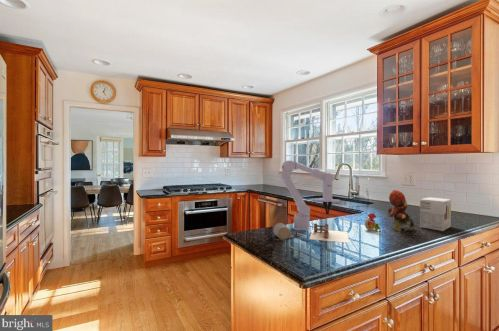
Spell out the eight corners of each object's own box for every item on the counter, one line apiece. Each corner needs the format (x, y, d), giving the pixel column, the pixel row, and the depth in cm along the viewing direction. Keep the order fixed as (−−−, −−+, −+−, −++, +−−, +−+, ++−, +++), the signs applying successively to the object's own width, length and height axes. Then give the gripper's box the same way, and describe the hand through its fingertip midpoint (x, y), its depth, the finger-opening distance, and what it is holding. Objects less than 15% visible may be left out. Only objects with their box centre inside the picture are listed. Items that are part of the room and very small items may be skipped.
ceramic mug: (278, 240, 142) (278, 226, 142) (273, 236, 150) (273, 223, 150) (296, 239, 145) (297, 225, 145) (290, 235, 153) (291, 222, 153)
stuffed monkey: (409, 231, 154) (398, 189, 159) (384, 232, 169) (375, 193, 174) (425, 227, 161) (414, 186, 165) (399, 228, 176) (390, 190, 180)
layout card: (309, 240, 143) (309, 238, 143) (312, 230, 164) (312, 229, 164) (349, 243, 137) (349, 242, 137) (347, 232, 158) (347, 231, 158)
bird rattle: (373, 235, 159) (383, 228, 163) (367, 219, 158) (378, 212, 161) (365, 233, 165) (375, 226, 168) (359, 217, 163) (369, 210, 167)
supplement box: (444, 231, 161) (444, 201, 161) (419, 227, 171) (419, 199, 171) (451, 226, 173) (451, 198, 172) (427, 223, 183) (427, 196, 182)
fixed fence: (313, 232, 157) (313, 224, 157) (314, 231, 159) (314, 223, 159) (328, 233, 155) (328, 225, 155) (328, 232, 156) (328, 224, 156)
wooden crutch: (325, 232, 155) (325, 225, 155) (328, 233, 154) (328, 225, 154) (324, 238, 145) (324, 229, 145) (327, 238, 144) (327, 230, 144)
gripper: (314, 192, 164) (314, 214, 165) (339, 193, 160) (339, 216, 160) (315, 191, 171) (315, 212, 171) (339, 192, 167) (339, 213, 167)
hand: (327, 214), depth 166 cm, fingers closed
